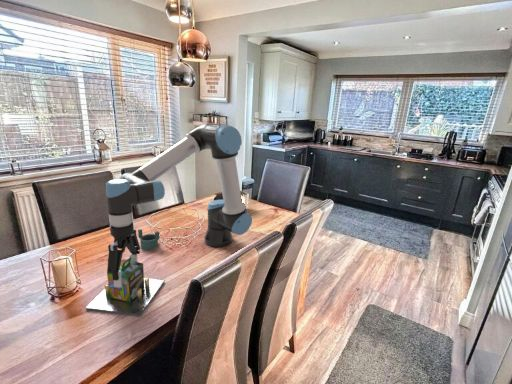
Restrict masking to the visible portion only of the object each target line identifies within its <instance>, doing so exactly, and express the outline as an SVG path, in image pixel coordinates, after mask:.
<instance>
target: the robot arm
mask: <svg viewBox="0 0 512 384" xmlns="http://www.w3.org/2000/svg"><path fill="white" fill-rule="evenodd" d="M241 147H242V136H241V133H240V131H239V130H238V129H237V128H236V127H234V126H232V125H229V124H221V123H213V122H209V123H208V122H207V123H203V124H201V125H198V126H197V127H196V128H193V130H191V131H189V132H187V133H186V134H185V135H184V136H183V139H181V140H180V141H178V142H177V143H175V144H174V145H172V146H171V147H169V148H167V149H166V150H165V151H163V152H161V153H160V154H159V155H156V157H154V158H152V159H151V160H150V161H148V162H147V163H145V164H143V165H142V166H141V167H139V168H138V169H136V170H134V171H133V172H125V173H123V174H122V175H121V176H120V177H119V178H117V179H110V180H109V181H107V182H106V184H105V197H106V202H107V203H106V204H107V205H106V206H107V210H108V219H109V231H110V235H111V236H112V237H113V239H114V241H113V243H112V244H108V246H107V248H108V256H107V270H106V271H107V272H106V274H107V273H112V276H113V281H114V287H122V277H121V270H119V269H120V264H121V260H122V259H123V255H124V253H125V251H126V248H127V250H128V252H129V253H130V254H129V256H128V257H129V258H130V257H131V261H135V262H138V261H139V260H138V255H139V254H140V253H141V244H140V243H139V240H138V236H137V230H136V229H134V222H133V221H134V218H133V217H134V216H133V214H134V213H133V206H136V205H141V204H145V203H152V202H156V201H160V200H163V199H164V197H165V194H166V193H165V191H166V190H165V187H164V184H163V182H162V181H161V180H157V179H159V178H160V177H161V176H163V175H165V174H167V173H168V172H169V171H170V170H172V169H173V168H174V167H176V166H177V165H179V164H180V163H182V162H183V161H184V160H186V159H187V158H189V157H190V156H191V155H193V154H194V153H195V154H199V153H200V152H201V151H203V150H206V149H207V150H210V152H211V158H212V159H214V160H215V161H216V166H217V172H218V176H219V181H220V186H221V187H220V188H221V193H222V194H223V199H224V200H214V199H213V200H212V201H209V202H208V204H207V230H206V232H205V235H204V243H205V245H207V246H209V247H212V248H223V247H226V246H229V245H231V244H232V243H233V235H232V234H235V235H238V236H239V235H240V236H241V235H243V234H246V233H247V232H248V231H249V230H250V228H251V226H252V223H253V216H252V214H251V213H249V212H247V207H246V206H245V204H244V203H242V199H241V193H240V191H241V187H240V181H239V172H238V167H237V160H236V157H237V156H238V154H239V151H240V149H241Z"/></svg>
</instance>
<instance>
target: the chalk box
mask: <svg viewBox="0 0 512 384" xmlns="http://www.w3.org/2000/svg"><path fill="white" fill-rule="evenodd" d="M119 270H121V277H122V287H114V281H113V276H112V273H107V272H106V274H107V275H106V276H107V284H108V285H109V294H110V298H114V299H118V300H123V301H127V302H131V301H132V300H133V299H134V298H135V297H136V296H137V289H138V288H141V291H142V290H143V289H144V288H145V287H144V278H145V272H144V263H142V262H140V261H139V262H135V261H131V257H130V256H129V257H128V258H127V259H125V258H122V259H121V264H120V269H119Z"/></svg>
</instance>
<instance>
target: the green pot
mask: <svg viewBox="0 0 512 384" xmlns="http://www.w3.org/2000/svg"><path fill="white" fill-rule="evenodd" d="M137 234H138V236H137V237H138V238H139V239H140V250H142V251H153V250H156V249H157V248H158V247H159V240H160V231H155V232H154V233H147V234H143V229H138V231H137Z"/></svg>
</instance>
